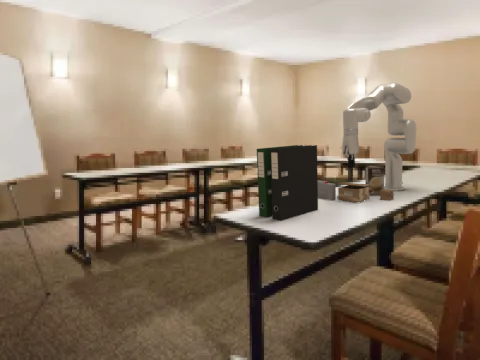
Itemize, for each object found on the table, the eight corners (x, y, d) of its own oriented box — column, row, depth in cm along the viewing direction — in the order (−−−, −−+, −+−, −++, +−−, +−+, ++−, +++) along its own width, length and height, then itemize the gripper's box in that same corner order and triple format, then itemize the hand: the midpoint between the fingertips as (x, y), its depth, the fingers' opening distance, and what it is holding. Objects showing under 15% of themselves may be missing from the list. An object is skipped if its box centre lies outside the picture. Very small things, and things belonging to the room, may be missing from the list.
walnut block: (384, 198, 196) (384, 189, 195) (393, 199, 192) (393, 190, 192) (380, 199, 193) (380, 190, 192) (389, 200, 189) (389, 191, 188)
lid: (348, 184, 203) (349, 182, 203) (369, 185, 194) (369, 184, 194) (338, 183, 195) (338, 182, 195) (359, 185, 186) (359, 183, 186)
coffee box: (367, 195, 204) (367, 168, 202) (364, 193, 210) (365, 166, 208) (384, 195, 203) (384, 167, 201) (381, 193, 209) (381, 166, 207)
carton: (349, 196, 204) (349, 184, 203) (369, 198, 195) (369, 186, 194) (338, 200, 196) (338, 187, 195) (358, 202, 187) (358, 189, 186)
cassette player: (335, 199, 198) (335, 182, 196) (332, 200, 196) (332, 182, 195) (315, 196, 211) (315, 179, 209) (312, 196, 209) (311, 180, 208)
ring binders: (297, 206, 186) (296, 145, 182) (320, 210, 175) (319, 145, 170) (259, 216, 169) (256, 148, 165) (281, 221, 158) (279, 149, 153)
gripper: (351, 131, 196) (351, 164, 199) (337, 133, 186) (338, 168, 188) (364, 131, 190) (364, 165, 193) (350, 133, 180) (351, 169, 183)
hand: (351, 166), depth 191 cm, fingers closed
